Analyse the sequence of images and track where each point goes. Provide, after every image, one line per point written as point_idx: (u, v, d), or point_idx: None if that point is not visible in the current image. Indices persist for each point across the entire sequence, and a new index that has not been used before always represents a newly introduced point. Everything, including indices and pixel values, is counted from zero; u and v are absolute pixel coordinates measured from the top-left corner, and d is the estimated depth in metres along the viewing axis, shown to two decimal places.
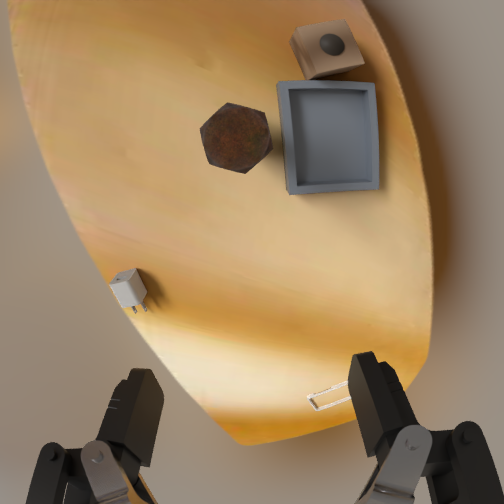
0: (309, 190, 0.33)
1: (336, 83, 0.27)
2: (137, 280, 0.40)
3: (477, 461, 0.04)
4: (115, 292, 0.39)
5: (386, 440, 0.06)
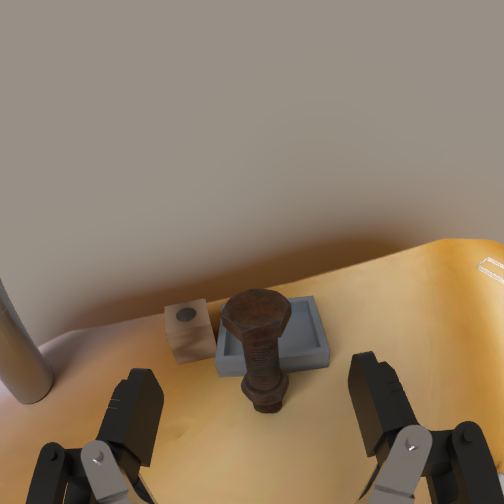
0: (323, 338, 0.34)
1: (222, 325, 0.38)
2: None
3: (477, 461, 0.04)
4: None
5: (386, 440, 0.06)
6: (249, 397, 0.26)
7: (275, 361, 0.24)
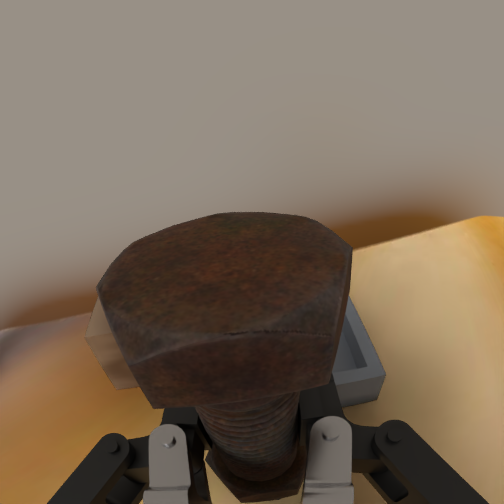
0: (369, 349, 0.17)
1: None
2: None
3: (415, 457, 0.05)
4: None
5: (307, 428, 0.07)
6: (226, 485, 0.09)
7: None
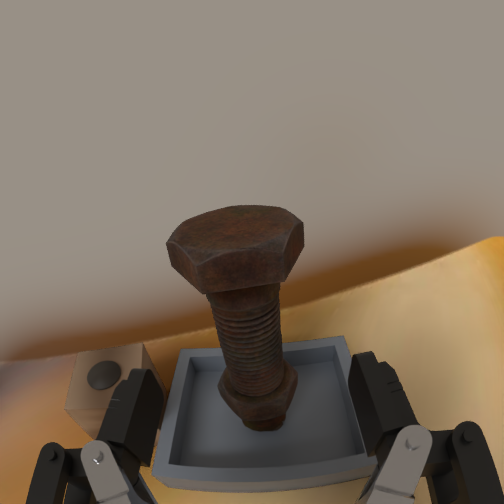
0: None
1: (173, 394, 0.18)
2: None
3: (477, 461, 0.04)
4: None
5: (386, 440, 0.06)
6: (231, 407, 0.15)
7: (274, 343, 0.13)
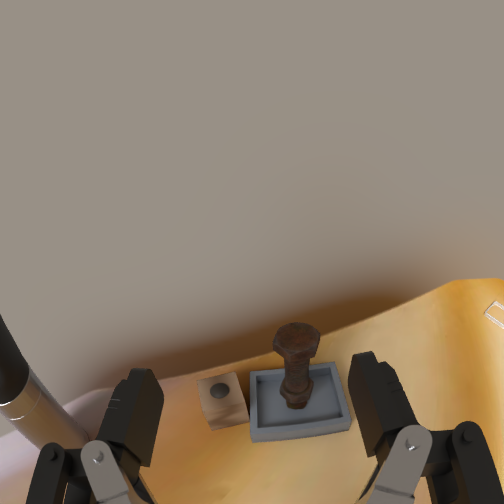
0: (345, 407, 0.34)
1: (252, 395, 0.38)
2: None
3: (477, 461, 0.04)
4: None
5: (386, 440, 0.06)
6: (286, 398, 0.35)
7: (307, 371, 0.33)
